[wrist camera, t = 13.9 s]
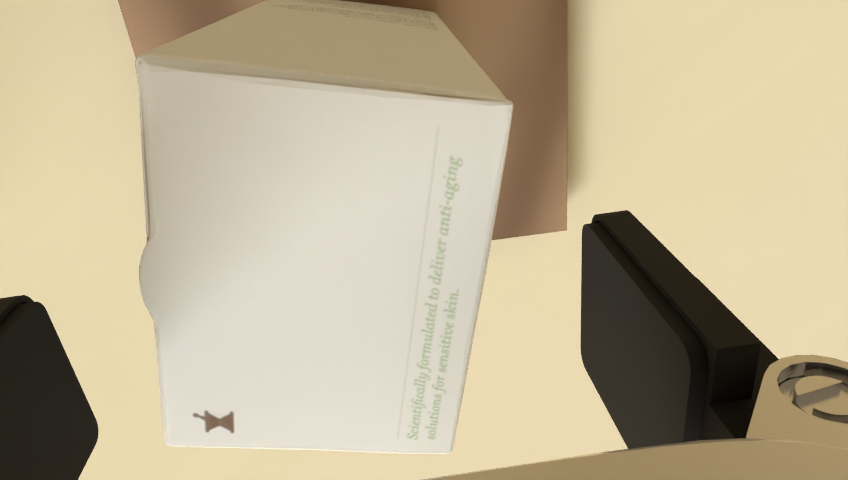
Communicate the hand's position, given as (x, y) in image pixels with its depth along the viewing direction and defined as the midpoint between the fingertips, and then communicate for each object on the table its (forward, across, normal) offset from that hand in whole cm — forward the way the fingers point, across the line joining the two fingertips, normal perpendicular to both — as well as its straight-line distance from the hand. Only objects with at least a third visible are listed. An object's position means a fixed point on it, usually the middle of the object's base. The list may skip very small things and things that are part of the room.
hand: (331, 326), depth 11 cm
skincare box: (+16, 0, 0) cm, 17 cm away
